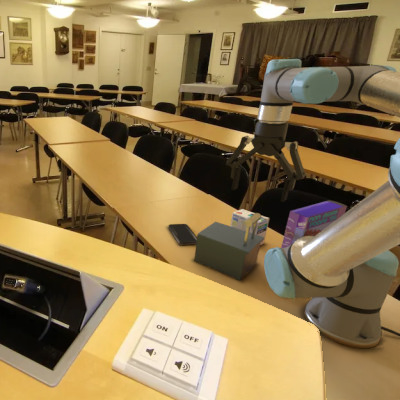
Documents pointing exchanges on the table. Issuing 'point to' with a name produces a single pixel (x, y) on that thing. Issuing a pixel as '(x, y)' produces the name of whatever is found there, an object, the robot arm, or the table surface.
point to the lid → (234, 235)
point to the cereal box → (311, 220)
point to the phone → (183, 234)
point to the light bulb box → (261, 227)
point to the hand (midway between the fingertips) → (257, 194)
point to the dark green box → (225, 258)
